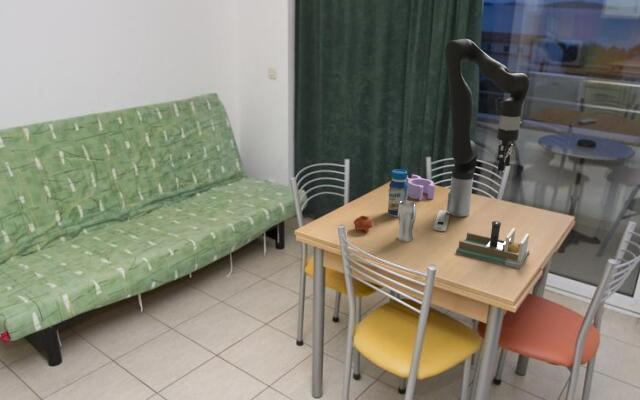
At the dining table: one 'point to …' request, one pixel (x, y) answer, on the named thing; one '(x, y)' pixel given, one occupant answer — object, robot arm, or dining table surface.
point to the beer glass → (406, 220)
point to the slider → (496, 237)
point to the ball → (513, 248)
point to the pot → (363, 223)
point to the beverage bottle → (397, 191)
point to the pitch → (478, 249)
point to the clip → (420, 187)
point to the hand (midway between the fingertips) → (503, 168)
